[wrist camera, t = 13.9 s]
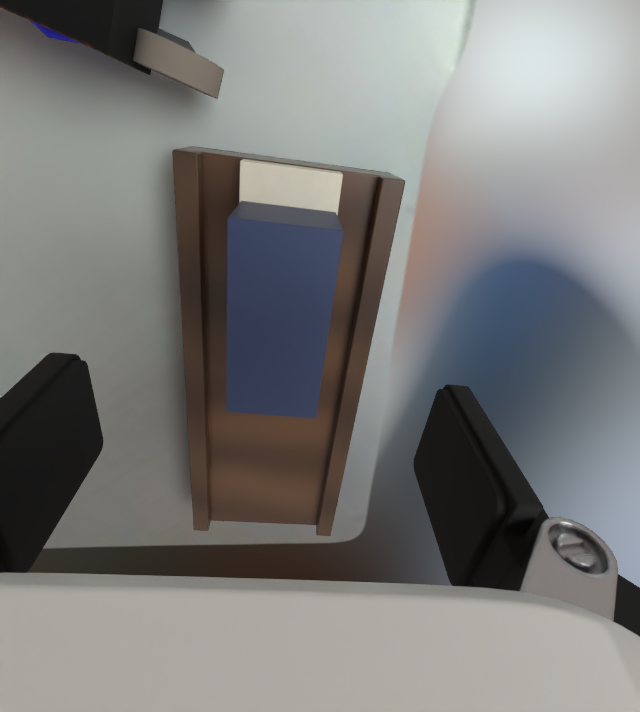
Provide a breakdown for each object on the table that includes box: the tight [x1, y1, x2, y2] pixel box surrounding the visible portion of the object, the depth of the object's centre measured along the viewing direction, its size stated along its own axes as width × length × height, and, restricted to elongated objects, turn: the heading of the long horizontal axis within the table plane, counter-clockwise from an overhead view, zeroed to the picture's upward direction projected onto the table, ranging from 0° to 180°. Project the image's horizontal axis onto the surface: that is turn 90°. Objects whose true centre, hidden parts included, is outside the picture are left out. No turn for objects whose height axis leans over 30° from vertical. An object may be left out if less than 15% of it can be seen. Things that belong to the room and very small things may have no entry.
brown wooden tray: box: [173, 147, 405, 536], centre depth 28 cm, size 28×11×4 cm, turn 173°
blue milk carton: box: [226, 159, 344, 418], centre depth 21 cm, size 12×5×6 cm, turn 173°
